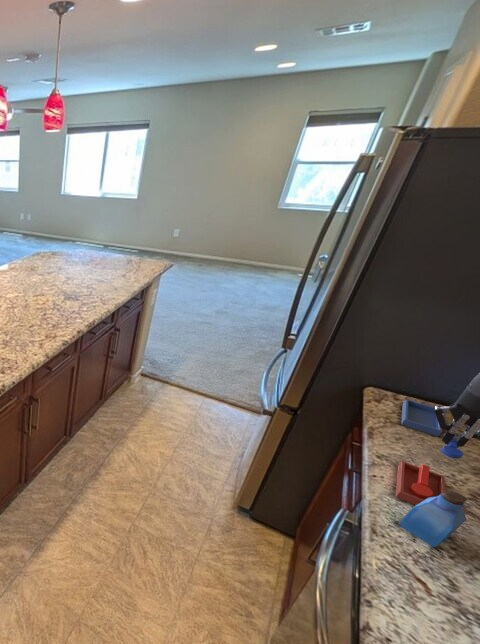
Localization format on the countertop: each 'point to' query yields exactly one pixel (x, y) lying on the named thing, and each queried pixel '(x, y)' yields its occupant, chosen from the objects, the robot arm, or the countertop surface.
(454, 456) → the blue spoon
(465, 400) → the robot arm
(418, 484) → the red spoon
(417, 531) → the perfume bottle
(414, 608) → the countertop surface
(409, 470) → the red tray
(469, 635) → the countertop surface
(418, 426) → the blue tray
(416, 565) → the countertop surface
